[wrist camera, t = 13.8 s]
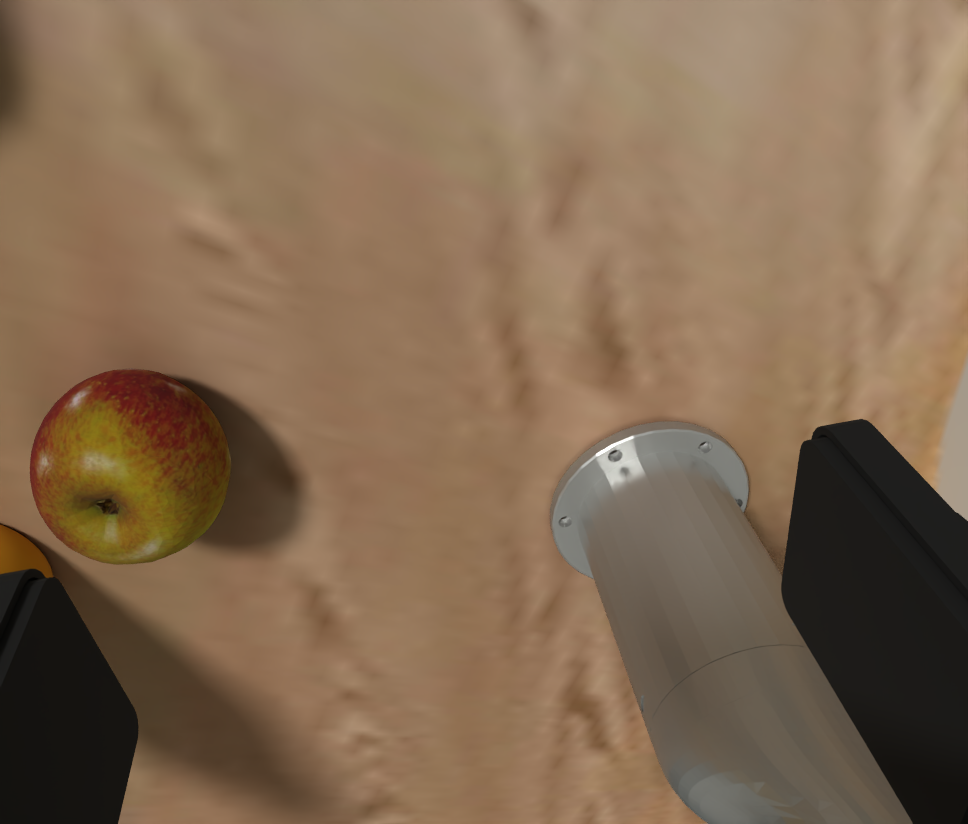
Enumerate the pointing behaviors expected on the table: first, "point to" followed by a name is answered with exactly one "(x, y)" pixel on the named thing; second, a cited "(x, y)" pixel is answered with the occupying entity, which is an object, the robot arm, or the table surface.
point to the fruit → (129, 467)
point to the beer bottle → (20, 554)
